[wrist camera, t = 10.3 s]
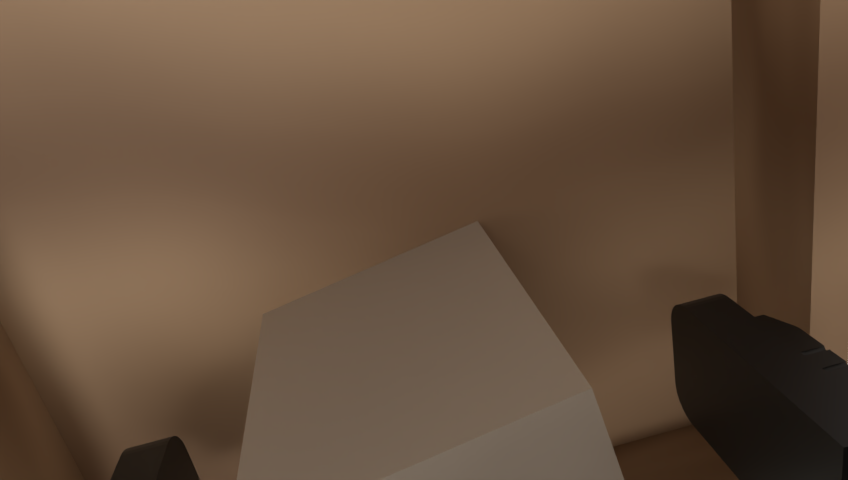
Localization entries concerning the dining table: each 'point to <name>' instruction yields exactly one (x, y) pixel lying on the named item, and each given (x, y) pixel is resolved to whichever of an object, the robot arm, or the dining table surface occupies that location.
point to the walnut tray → (399, 194)
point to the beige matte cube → (421, 379)
